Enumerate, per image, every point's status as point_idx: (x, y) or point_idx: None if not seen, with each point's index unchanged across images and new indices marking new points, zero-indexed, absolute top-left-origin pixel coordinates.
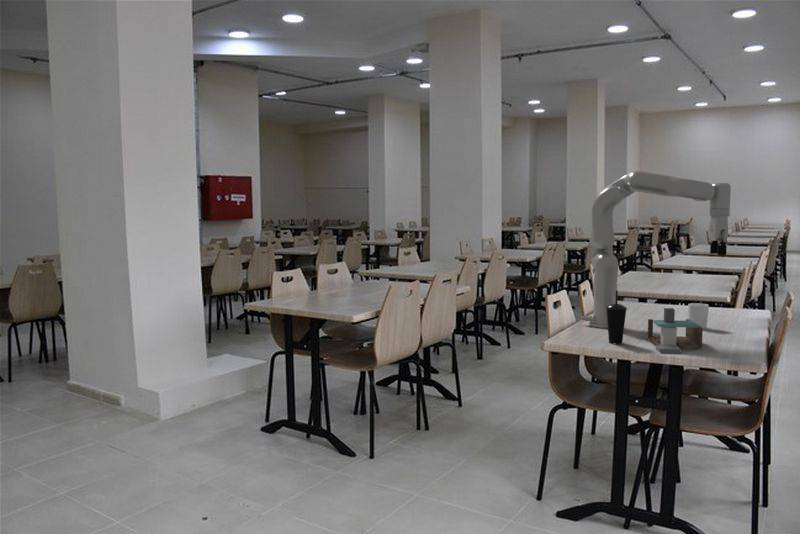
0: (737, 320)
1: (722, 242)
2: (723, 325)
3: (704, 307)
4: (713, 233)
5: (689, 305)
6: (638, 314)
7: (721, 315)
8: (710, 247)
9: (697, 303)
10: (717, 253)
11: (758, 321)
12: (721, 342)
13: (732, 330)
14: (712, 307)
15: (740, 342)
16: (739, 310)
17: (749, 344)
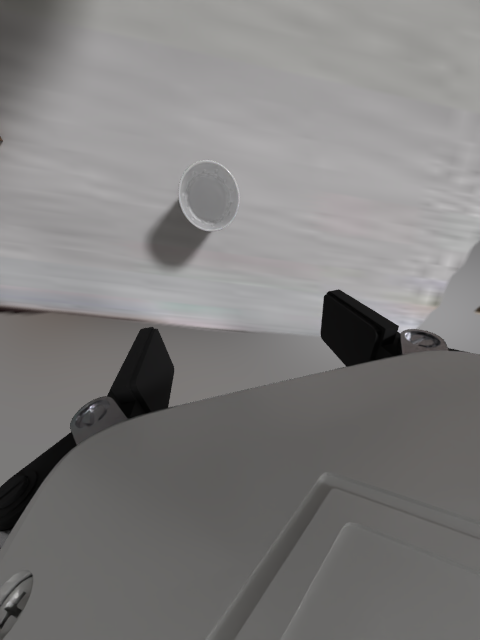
0: (315, 295)
1: (34, 465)
2: (256, 264)
3: (185, 214)
4: (140, 635)
5: (195, 163)
6: (413, 15)
7: (368, 274)
8: (367, 309)
9: (237, 199)
10: (323, 331)
11: (307, 325)
12: (30, 232)
13: (201, 274)
14: (456, 269)
15: (61, 272)
16: (413, 310)
17: (49, 286)
